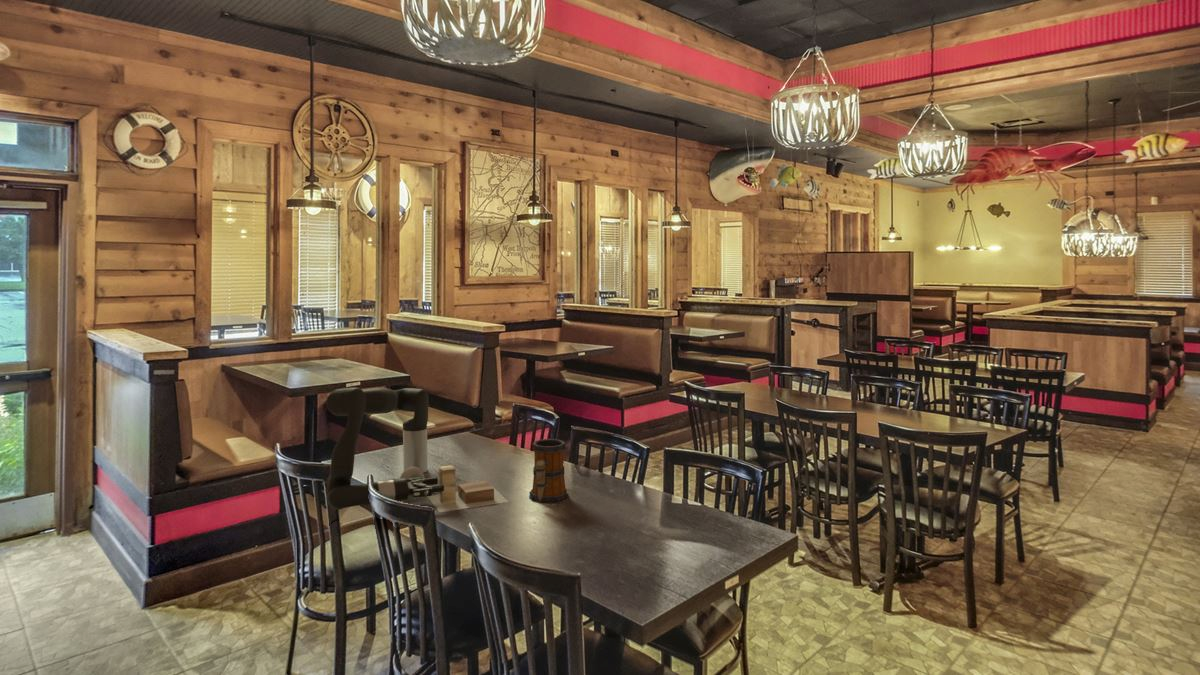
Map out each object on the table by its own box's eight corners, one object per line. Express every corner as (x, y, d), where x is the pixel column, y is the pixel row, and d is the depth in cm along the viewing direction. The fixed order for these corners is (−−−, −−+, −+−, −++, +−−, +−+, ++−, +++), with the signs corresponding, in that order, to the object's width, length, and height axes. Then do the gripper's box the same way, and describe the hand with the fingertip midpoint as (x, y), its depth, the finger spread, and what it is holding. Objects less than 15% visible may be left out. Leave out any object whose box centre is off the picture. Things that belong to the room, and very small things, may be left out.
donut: (403, 498, 242) (402, 470, 241) (397, 496, 244) (396, 469, 243) (426, 491, 249) (426, 464, 248) (420, 489, 252) (420, 462, 250)
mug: (560, 511, 230) (560, 453, 228) (518, 508, 233) (518, 450, 231) (573, 493, 249) (573, 438, 247) (535, 490, 252) (535, 436, 250)
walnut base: (458, 495, 244) (457, 484, 244) (485, 491, 248) (485, 480, 248) (465, 504, 235) (465, 492, 235) (494, 499, 240) (494, 488, 239)
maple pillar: (439, 500, 238) (439, 466, 237) (452, 498, 240) (451, 465, 239) (442, 504, 234) (442, 470, 233) (455, 502, 236) (455, 468, 235)
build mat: (427, 497, 243) (427, 495, 243) (492, 488, 254) (492, 486, 254) (439, 513, 227) (439, 512, 227) (508, 503, 238) (508, 501, 238)
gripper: (395, 485, 222) (445, 479, 229) (387, 473, 234) (435, 467, 242) (396, 508, 222) (446, 501, 230) (388, 495, 235) (436, 488, 242)
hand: (440, 484), depth 236 cm, fingers open, 8 cm apart
